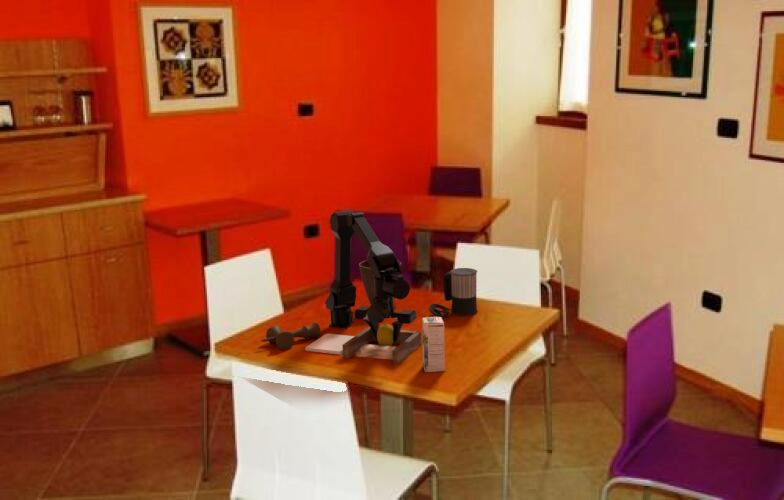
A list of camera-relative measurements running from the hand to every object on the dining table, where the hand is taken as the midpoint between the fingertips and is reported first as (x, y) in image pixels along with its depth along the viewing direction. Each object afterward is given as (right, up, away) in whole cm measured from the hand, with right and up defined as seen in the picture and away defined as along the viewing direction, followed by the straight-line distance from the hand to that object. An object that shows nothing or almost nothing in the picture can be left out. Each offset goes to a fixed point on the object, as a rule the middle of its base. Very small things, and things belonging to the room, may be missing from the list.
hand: (386, 341), depth 248 cm
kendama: (-30, -2, +9) cm, 32 cm away
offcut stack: (-3, -4, -5) cm, 7 cm away
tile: (-16, -2, +5) cm, 17 cm away
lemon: (0, -2, +1) cm, 2 cm away
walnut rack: (-1, -3, -2) cm, 3 cm away
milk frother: (+23, +6, +32) cm, 40 cm away
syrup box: (+14, -6, -18) cm, 23 cm away
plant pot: (-2, +7, +45) cm, 45 cm away
